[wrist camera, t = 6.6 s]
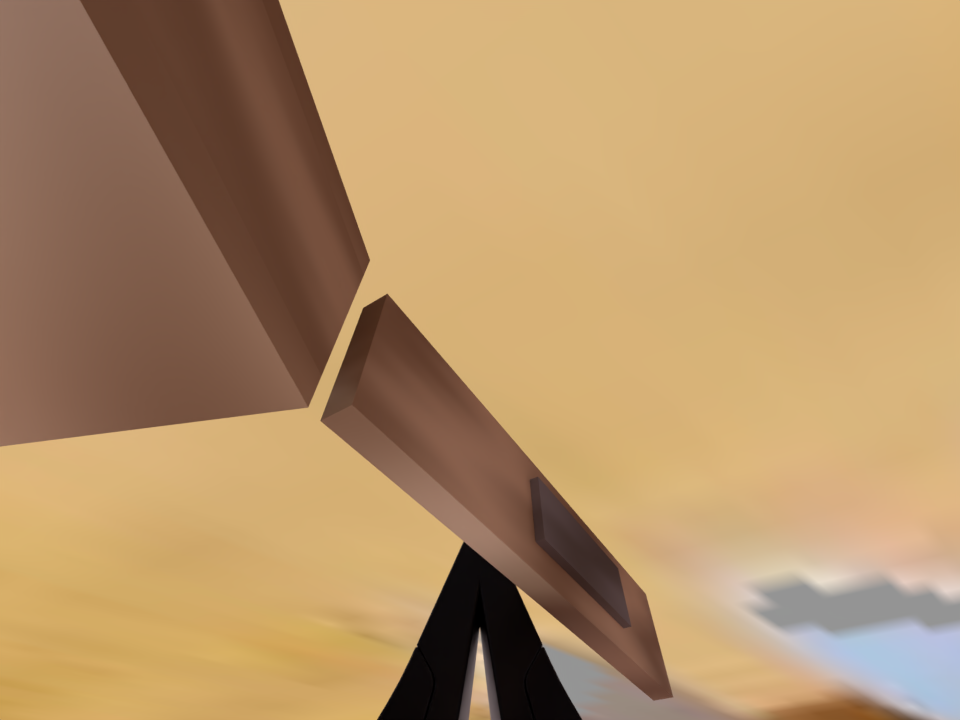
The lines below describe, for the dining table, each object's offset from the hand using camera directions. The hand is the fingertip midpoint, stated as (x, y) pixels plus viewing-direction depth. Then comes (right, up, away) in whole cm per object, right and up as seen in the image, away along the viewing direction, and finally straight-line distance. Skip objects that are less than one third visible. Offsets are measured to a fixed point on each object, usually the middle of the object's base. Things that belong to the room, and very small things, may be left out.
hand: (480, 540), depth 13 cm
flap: (+2, +2, 0) cm, 2 cm away
